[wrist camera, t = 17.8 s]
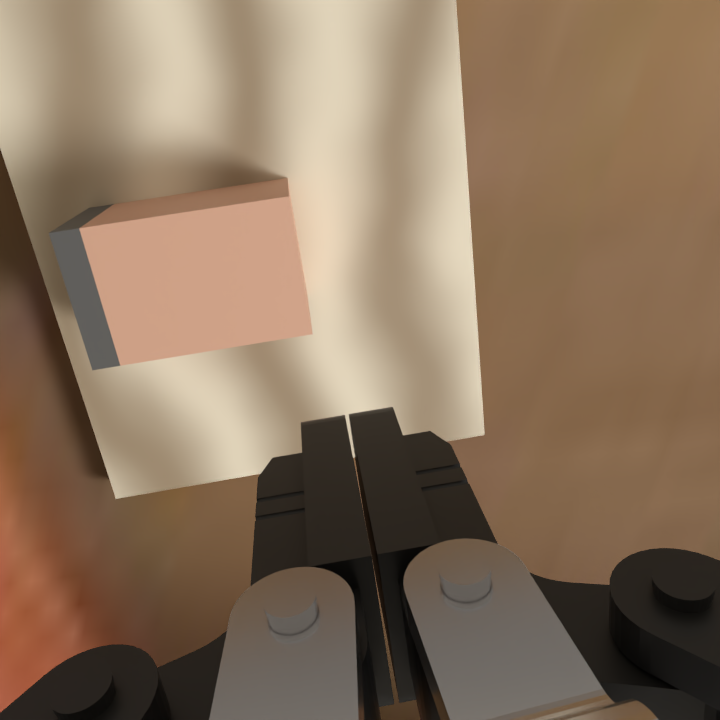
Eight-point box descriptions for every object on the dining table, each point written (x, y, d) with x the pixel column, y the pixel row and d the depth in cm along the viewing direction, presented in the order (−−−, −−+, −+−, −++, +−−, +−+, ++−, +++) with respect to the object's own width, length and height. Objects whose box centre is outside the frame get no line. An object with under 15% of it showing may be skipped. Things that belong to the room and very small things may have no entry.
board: (440, -84, 25) (449, -94, 24) (476, 420, 34) (484, 434, 32) (-39, -22, 24) (-58, -28, 23) (122, 481, 33) (115, 498, 31)
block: (289, 196, 22) (48, 232, 22) (312, 334, 24) (92, 370, 24) (287, 177, 27) (88, 207, 26) (307, 294, 29) (122, 324, 28)
